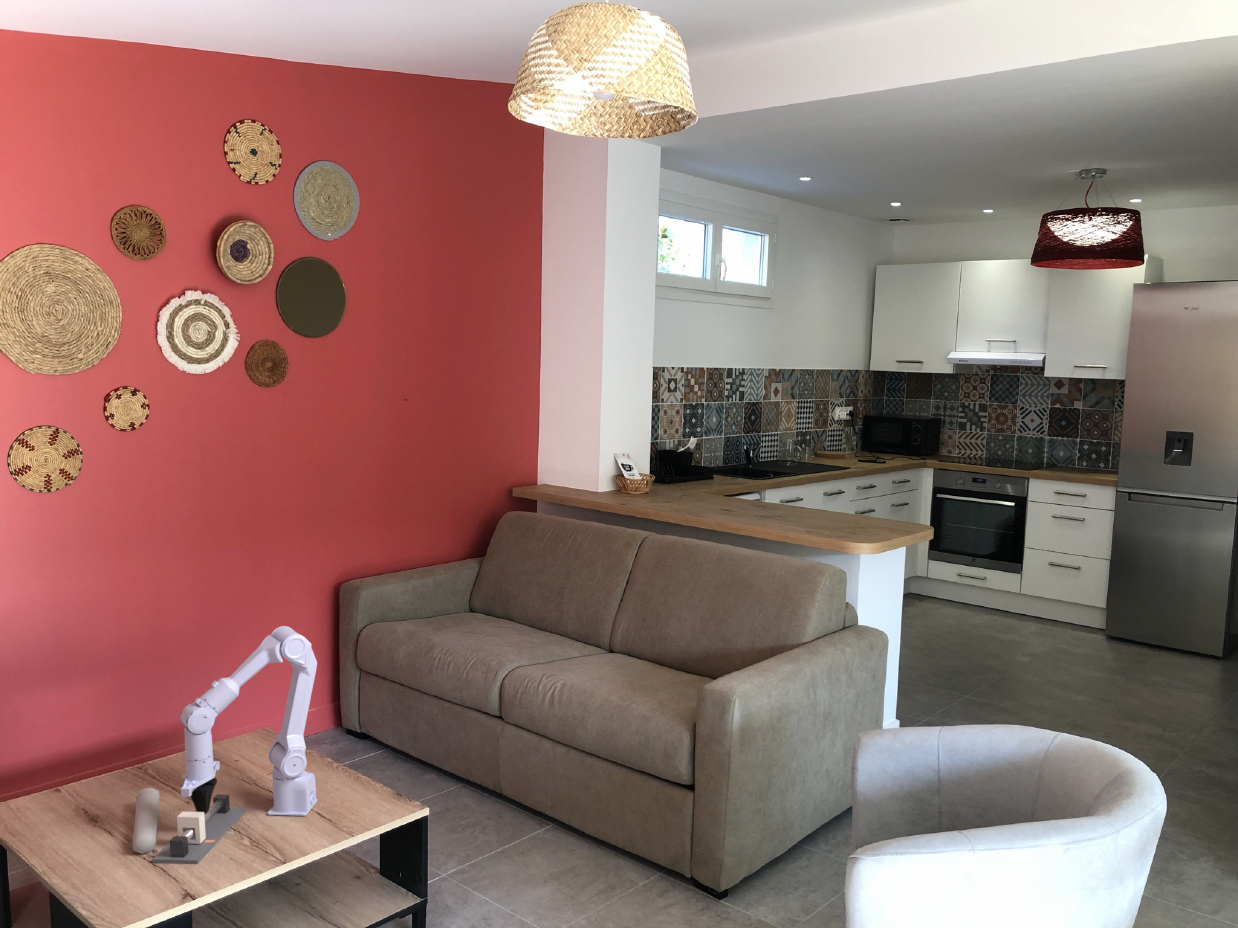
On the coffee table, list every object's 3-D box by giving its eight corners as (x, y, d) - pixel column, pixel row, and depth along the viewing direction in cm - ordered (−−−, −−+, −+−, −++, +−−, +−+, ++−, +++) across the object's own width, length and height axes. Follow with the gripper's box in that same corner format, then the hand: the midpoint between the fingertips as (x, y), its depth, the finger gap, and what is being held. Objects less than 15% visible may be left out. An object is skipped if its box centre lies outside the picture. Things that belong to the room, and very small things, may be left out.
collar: (205, 837, 219) (204, 811, 218) (200, 843, 216) (198, 817, 216) (184, 837, 219) (182, 811, 218) (178, 842, 217) (176, 816, 216)
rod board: (246, 810, 234) (245, 792, 233) (197, 863, 210) (196, 843, 210) (205, 810, 234) (204, 791, 234) (152, 862, 211) (151, 842, 210)
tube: (160, 836, 215) (162, 788, 237) (134, 833, 212) (139, 786, 235) (153, 859, 215) (156, 809, 237) (127, 857, 212) (133, 807, 235)
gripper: (197, 742, 228) (201, 797, 230) (165, 769, 214) (169, 827, 216) (226, 743, 228) (230, 797, 230) (197, 769, 214) (200, 828, 215)
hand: (202, 812), depth 223 cm, fingers closed
